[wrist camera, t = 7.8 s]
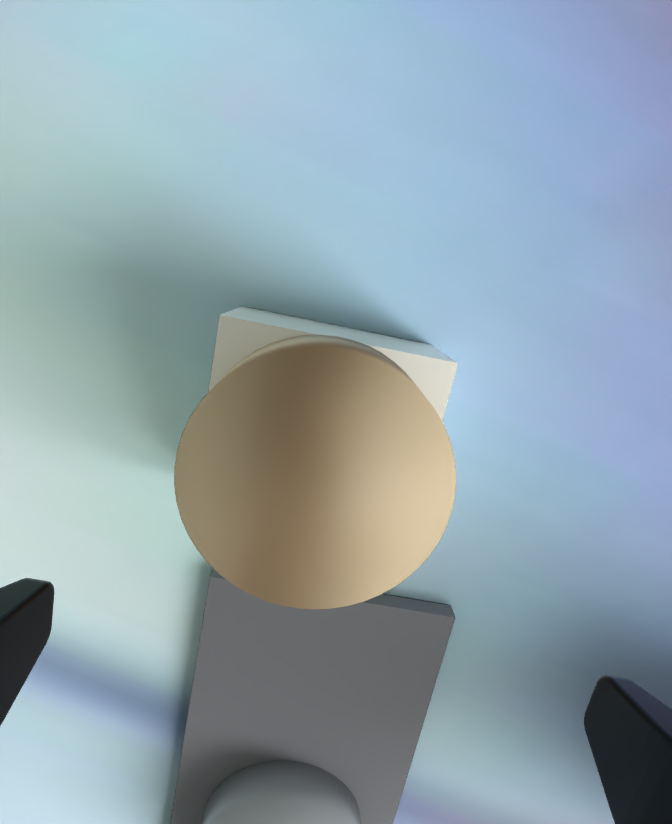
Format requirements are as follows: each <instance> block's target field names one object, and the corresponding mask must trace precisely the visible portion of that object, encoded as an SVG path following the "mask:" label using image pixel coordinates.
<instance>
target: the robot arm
mask: <svg viewBox="0 0 672 824" xmlns="http://www.w3.org/2000/svg"><path fill="white" fill-rule="evenodd" d="M53 601H54V586H53V584H52V583H51V582H49V581H43V580H37V579H31V578H24V579H22V580H19V581H16V582H14V583H12V584H9V585H7V586H4V587H2V588H0V726H1V724H2V722H3V720H4V719H5V717H6V715H7V713H8V711H9V710H10V708H11V706H12V704H13V702H14V701H15V699H16V697H17V695H18V693H19V692H20V690H21V688H22V686H23V684H24V683H25V681H26V679H27V677H28V675H29V674H30V672H31V670H32V668H33V666H34V665H35V663H36V661H37V659H38V657H39V656H40V654H41V652H42V650H43V648H44V646H45V645H46V643H47V640H48V638H49V635H50V632H51V626H52V614H53ZM584 726H585V731H586V734H587V737H588V741H589V744H590V747H591V750H592V753H593V756H594V759H595V763H596V766H597V769H598V772H599V775H600V778H601V781H602V785H603V788H604V791H605V794H606V797H607V800H608V804H609V807H610V810H611V813H612V816H613V819H614V822H615V824H672V710H671V709H670V708H668V707H667V706H666V705H664V704H663V703H662V702H660V701H659V700H657V699H656V698H655V697H653V696H652V695H650V694H649V693H648V692H646V691H645V690H643V689H642V688H641V687H639V686H638V685H636V684H635V683H634V682H632V681H631V680H629V679H626V678H622V677H616V676H610V675H605V676H602V677H601V678H600V679H599V680H598V682H597V684H596V687H595V689H594V692H593V694H592V697H591V699H590V702H589V704H588V707H587V709H586V712H585V717H584Z"/></svg>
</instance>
